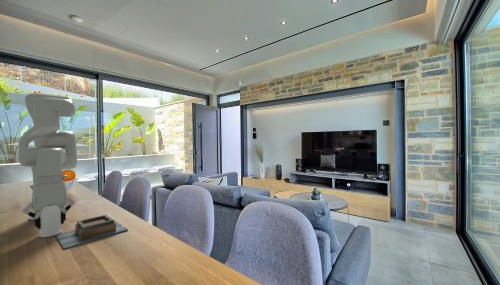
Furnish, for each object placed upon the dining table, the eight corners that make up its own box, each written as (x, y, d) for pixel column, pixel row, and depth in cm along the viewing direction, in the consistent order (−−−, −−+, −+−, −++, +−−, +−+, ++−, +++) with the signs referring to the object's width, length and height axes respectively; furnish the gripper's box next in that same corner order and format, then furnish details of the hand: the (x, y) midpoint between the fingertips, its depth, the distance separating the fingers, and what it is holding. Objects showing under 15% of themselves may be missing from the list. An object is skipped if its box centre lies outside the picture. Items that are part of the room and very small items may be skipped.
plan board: (56, 236, 84) (55, 223, 84) (114, 221, 99) (114, 210, 99) (63, 249, 74) (63, 235, 74) (127, 230, 89) (127, 218, 89)
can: (47, 238, 82) (47, 206, 82) (34, 237, 84) (33, 205, 84) (65, 231, 89) (65, 202, 89) (53, 230, 90) (52, 201, 90)
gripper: (75, 176, 95) (76, 217, 95) (17, 182, 82) (18, 229, 82) (79, 177, 90) (80, 221, 90) (18, 184, 77) (19, 235, 77)
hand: (50, 225), depth 86 cm, fingers closed on can, 6 cm apart
